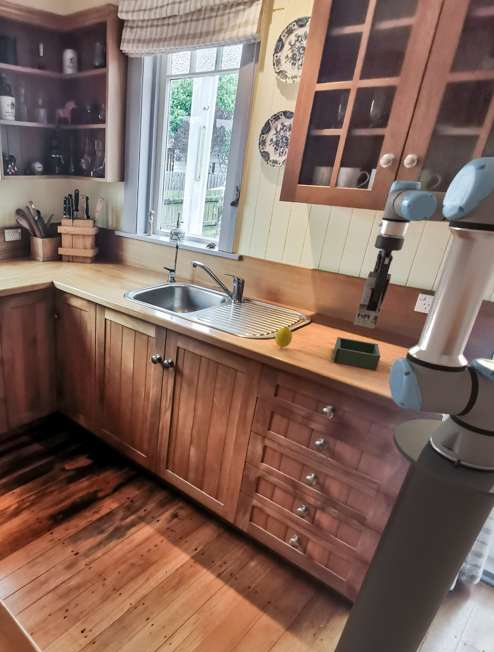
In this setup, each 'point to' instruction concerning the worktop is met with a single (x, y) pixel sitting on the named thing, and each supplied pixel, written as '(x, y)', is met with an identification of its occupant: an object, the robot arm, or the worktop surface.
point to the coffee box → (364, 315)
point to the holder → (356, 353)
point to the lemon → (283, 337)
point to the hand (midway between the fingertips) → (370, 306)
